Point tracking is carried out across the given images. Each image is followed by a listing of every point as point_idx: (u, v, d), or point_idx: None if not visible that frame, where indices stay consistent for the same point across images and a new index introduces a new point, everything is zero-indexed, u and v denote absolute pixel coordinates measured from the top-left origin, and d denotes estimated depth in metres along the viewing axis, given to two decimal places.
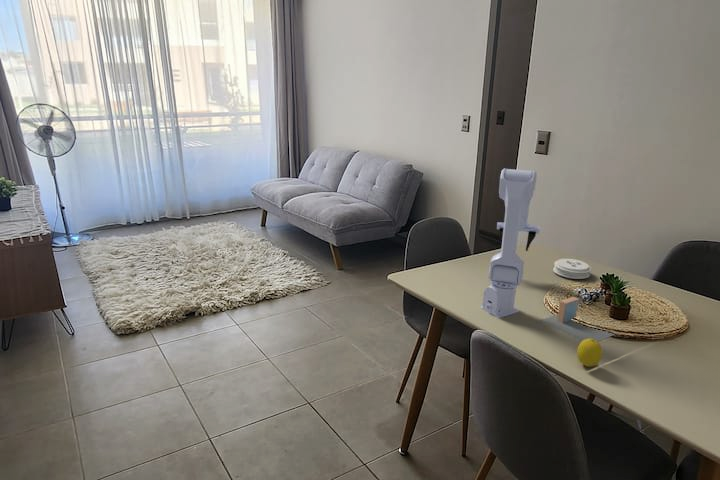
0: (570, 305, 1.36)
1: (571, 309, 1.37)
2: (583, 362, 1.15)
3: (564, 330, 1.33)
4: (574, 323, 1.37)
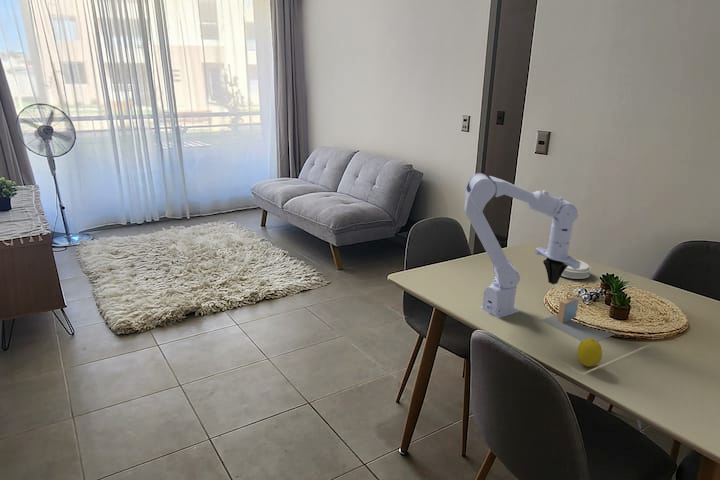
0: (570, 305, 1.36)
1: (571, 309, 1.37)
2: (583, 362, 1.15)
3: (564, 330, 1.33)
4: (574, 323, 1.37)
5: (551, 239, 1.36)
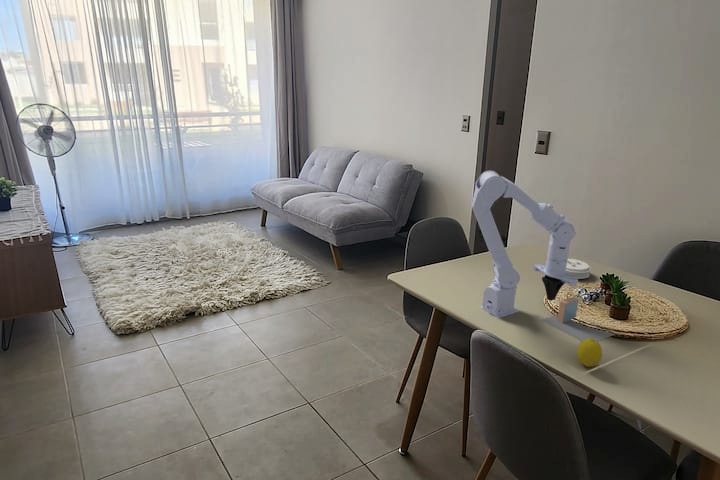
0: (570, 305, 1.36)
1: (571, 309, 1.37)
2: (583, 362, 1.15)
3: (564, 330, 1.33)
4: (574, 323, 1.37)
5: (549, 257, 1.38)
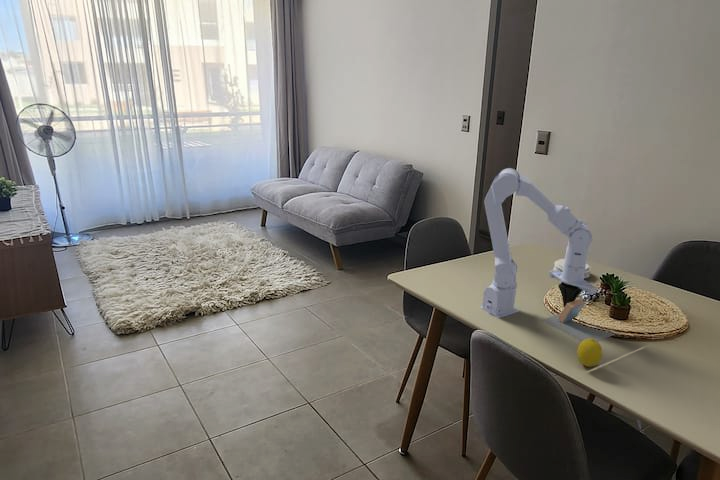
0: (575, 308, 1.35)
1: (575, 312, 1.36)
2: (583, 362, 1.15)
3: (564, 330, 1.33)
4: (574, 323, 1.37)
5: (565, 262, 1.34)
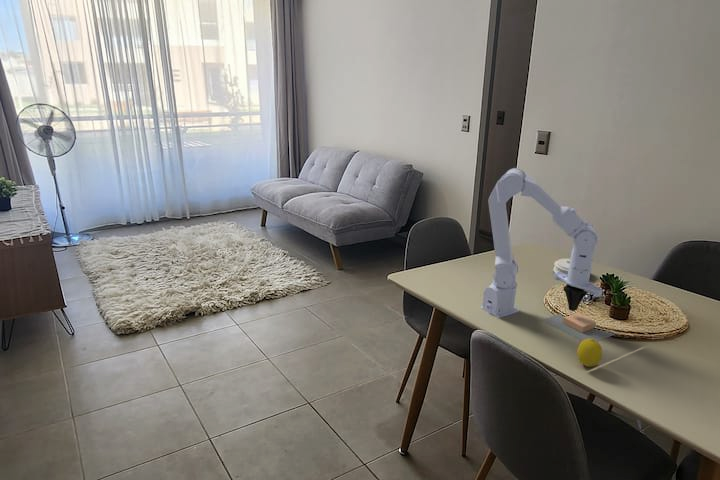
0: None
1: None
2: (583, 362, 1.15)
3: (564, 330, 1.33)
4: None
5: (570, 264, 1.32)
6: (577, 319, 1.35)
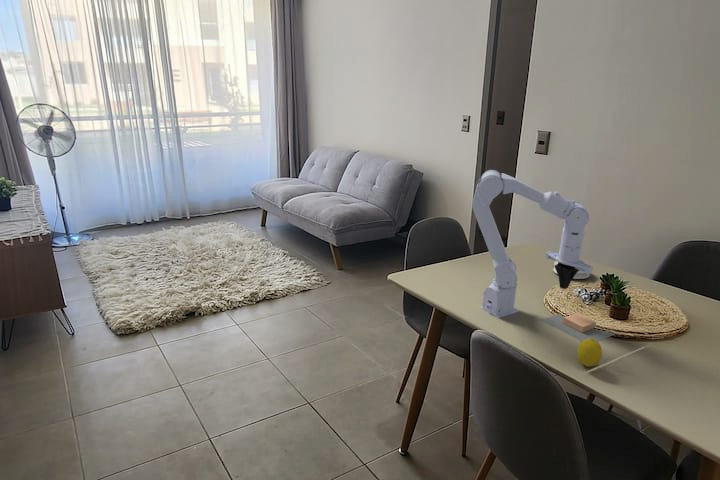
0: None
1: None
2: (583, 362, 1.15)
3: (564, 330, 1.33)
4: None
5: (561, 242, 1.33)
6: (577, 319, 1.35)
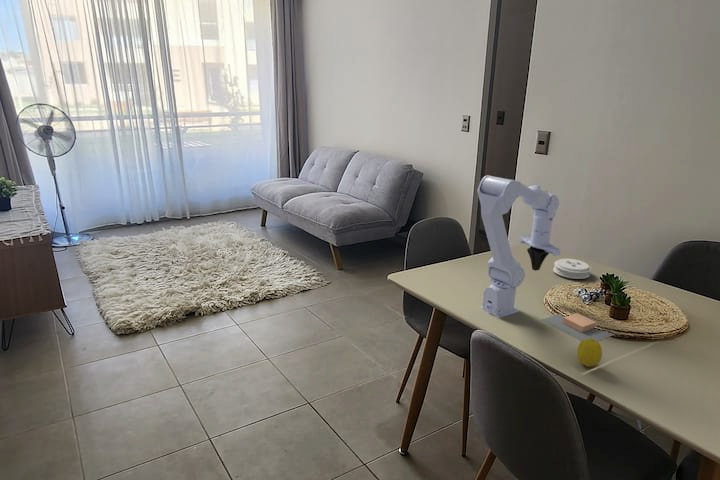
0: None
1: None
2: (583, 362, 1.15)
3: (564, 330, 1.33)
4: None
5: (539, 230, 1.45)
6: (577, 319, 1.35)
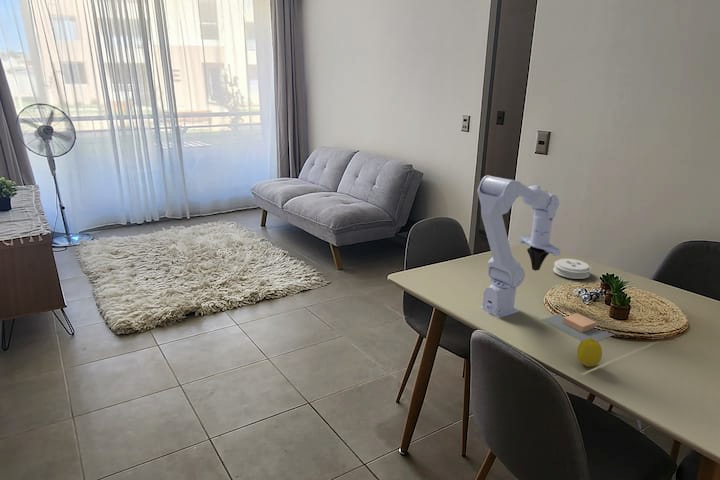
0: None
1: None
2: (583, 362, 1.15)
3: (564, 330, 1.33)
4: None
5: (539, 230, 1.45)
6: (577, 319, 1.35)
